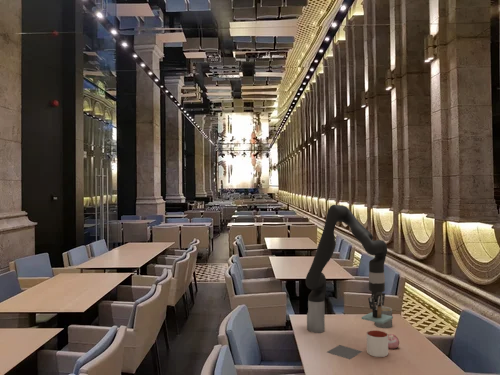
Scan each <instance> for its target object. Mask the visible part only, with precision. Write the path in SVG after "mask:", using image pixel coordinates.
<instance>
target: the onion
mask: <svg viewBox="0 0 500 375" xmlns="http://www.w3.org/2000/svg"><path fill="white" fill-rule="evenodd" d="M387 334H388V333H387ZM399 346H400V340H399V338H398V336H396V334H393V333H389V334H388V350H394V349H395V350H396V349H397V348H398V347H399Z"/></svg>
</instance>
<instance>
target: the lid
mask: <svg viewBox="0 0 500 375" xmlns="http://www.w3.org/2000/svg"><path fill="white" fill-rule="evenodd" d="M375 307H376V305H375ZM393 318H394V316H393V315H392V316H388V315H384V314H382V315H381V306H378V307H377V318H375V317H373V312H369V313H366V314H364V315H363V316H361V320H364V321H369V322H372V323H375V322H377V323H382V324H384V323H385V322H387V321H389V320H391V319H392V320H393Z"/></svg>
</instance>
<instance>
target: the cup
mask: <svg viewBox="0 0 500 375" xmlns="http://www.w3.org/2000/svg"><path fill="white" fill-rule="evenodd" d="M366 352H367V354H368V355H369V356H372V357H374V358H384V357H387V356H388V355H389V348H388V333H386V332H385V331H382V330H368V331H367V332H366Z"/></svg>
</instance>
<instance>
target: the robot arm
mask: <svg viewBox="0 0 500 375" xmlns="http://www.w3.org/2000/svg"><path fill="white" fill-rule="evenodd" d="M337 223H343V224H345V225H347V226H348V227H349V228H350V230H351V233H352V236H354V238H355V239H356V240H358V242H360V244H361V246H362V247H363V249H364V251H365V252H366V253H367V254H368V255H371V256H374V257H373V258H372V259H370V260H369V261H368V272H369V273H368V291H369V292H371V294H370V295H371V297H368V305H369V309H371V310H372V312H373V317H375V318H377V307H378V306H381V308H382V306H384V305H385V298H386V293H383V292H385V290H386V286H385V285H386V281H385V280H386V279H385V278H386V277H385V262H386V258H387V255H388V245H387V243H386V242H385V240H383V239H379V240H376V239H375V240H374V239H373V238H374V235H373V234H372V233H371V232H370V231H369V230H368V229H367V228H366V227H365V226H364V225H363V224H362V223H361V222H360V221H359V220H358V219H357V218H356V216H355V215H354V214H353V212H352V211H351V210H350V209H349V207H348V206H346V205H341V204H332V205H331V206H329V207H328V210H327V213H326V216H325V222H324V226H323V229H322V230H323V231H322V233H321V236H320V239H319V241H318V242H319V243H318V245H317V247H316V252H315V254H314V258H313V260H312V263H311V265H310V268H309V270H308V272H307V274H306V276H305V286H306V287H307V289H309V290H311V292H310V293H308V296H307V300H308V301H307V308H308V310H307V313H306V330H308V331H309V332H310V333H316V334H319V333H320V334H321V333H323V332H325V324H326V323H325V320H326V318H325V317H326V316H325V314H326V313H325V298H326V295H327V294H326V293H327V292H326V291H327V279H326V276H325V274H324V273H323V271H324V269H325V267H326V266H327V264H328V263H329V262H330V260H331V259H332V256H333V254H334V252H335V249H336V245H337V244H336V243H337V241H336V238H335V228H336V225H337ZM375 305H376V307H375ZM381 315H382V311H381Z"/></svg>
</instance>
